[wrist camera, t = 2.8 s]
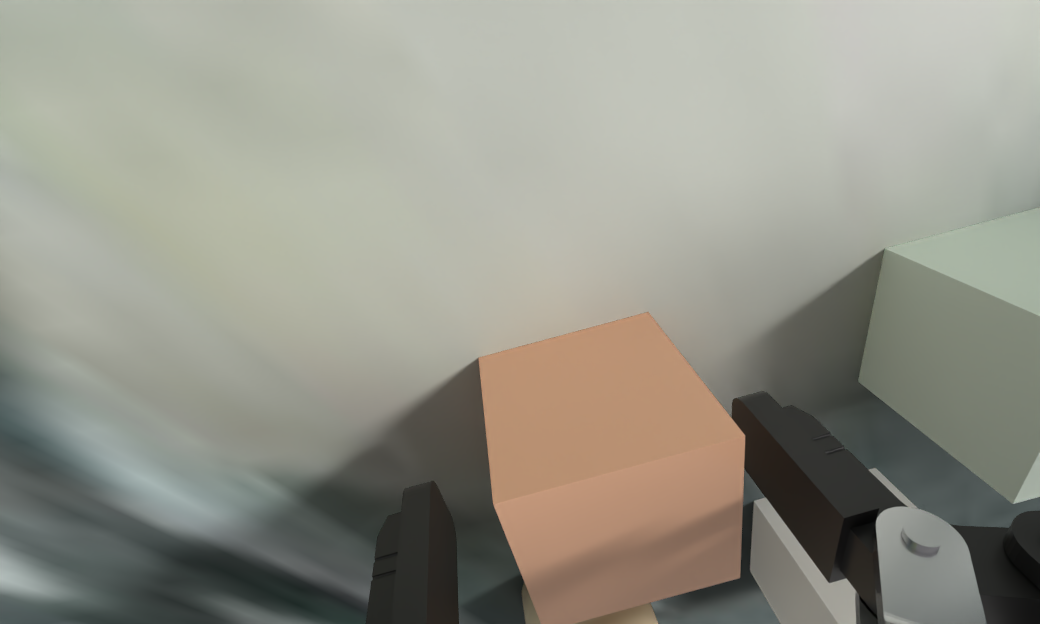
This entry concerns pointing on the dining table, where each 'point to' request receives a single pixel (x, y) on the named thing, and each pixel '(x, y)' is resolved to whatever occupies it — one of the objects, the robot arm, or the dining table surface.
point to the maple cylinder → (634, 620)
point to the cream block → (799, 571)
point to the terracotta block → (611, 470)
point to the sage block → (965, 346)
